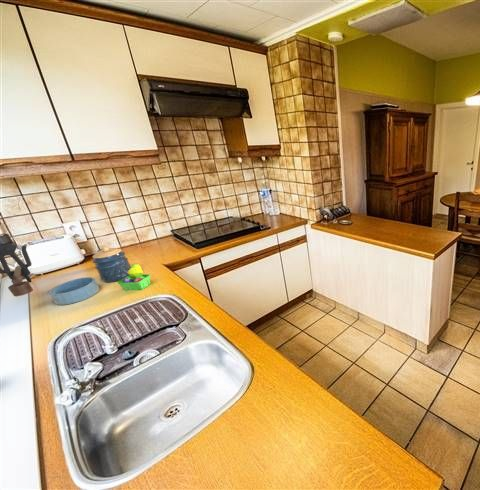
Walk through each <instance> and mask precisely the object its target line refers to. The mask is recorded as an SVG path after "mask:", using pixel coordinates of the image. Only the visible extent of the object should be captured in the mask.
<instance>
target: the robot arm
mask: <svg viewBox="0 0 480 490" xmlns="http://www.w3.org/2000/svg"><path fill="white" fill-rule="evenodd" d="M7 232H8V231H7V230H6V228H5V227H4V225H3V224H2V223H1V221H0V262H1V263H0V264H1V266H2V267H0V275H2V274H6V276H8V278H9V280H12V277H13V274H14V270H11V269H10V266H9V264H8V262H7V260H5V257H6V256H11V258H12V259H13V260H14V261H15V262H16V264H17V266H20V267H21V268H22V269H21V272H22V273H23V275H24V276H25V278H26V279H25V280H26V281H28V282H29V283H32V279H31V276H30V275H31V271H30V269H29V267H31V266H32V261H31V259H30V256H29V253H28V251H27V247H28V245H26V244H17V243H16V242H14V241H13V239H12V238H11V235H9V233H7ZM17 248H18V250H19V251H22V252H21V254H22V256H23V259H24V261H22V259H21V258H20V257H19V256H18V254H16V253H17V252H16V250H17ZM2 268H3V269H2ZM28 275H29V276H30V277H29V276H28Z"/></svg>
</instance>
